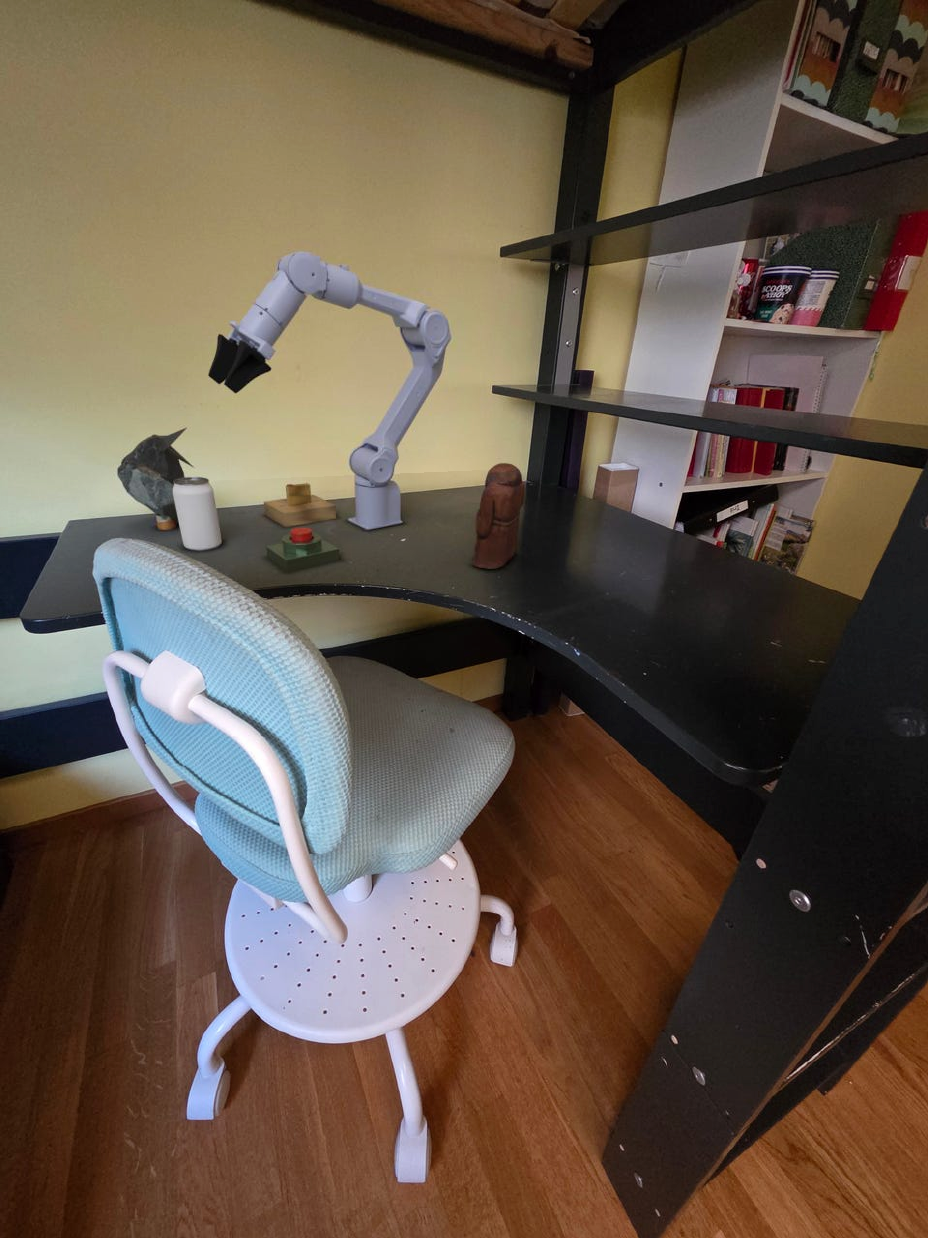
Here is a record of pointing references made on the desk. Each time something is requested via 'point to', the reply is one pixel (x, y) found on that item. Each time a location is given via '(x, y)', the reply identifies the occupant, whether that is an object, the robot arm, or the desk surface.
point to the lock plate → (299, 511)
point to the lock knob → (298, 494)
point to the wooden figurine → (499, 516)
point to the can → (197, 513)
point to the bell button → (301, 534)
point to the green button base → (302, 553)
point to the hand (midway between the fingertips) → (221, 384)
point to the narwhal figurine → (154, 476)
